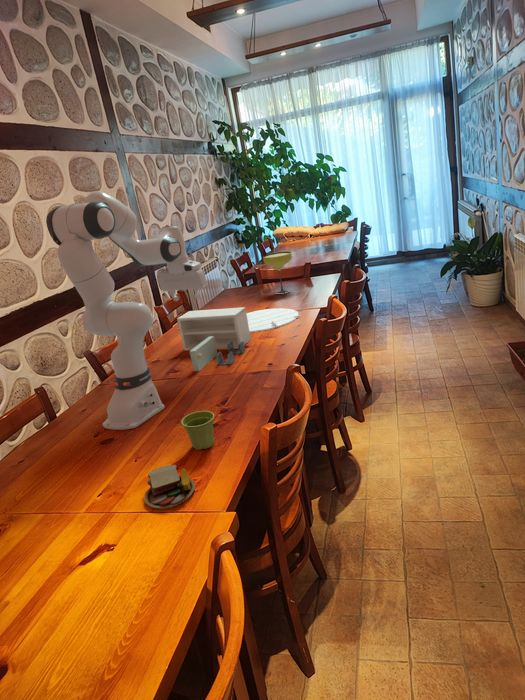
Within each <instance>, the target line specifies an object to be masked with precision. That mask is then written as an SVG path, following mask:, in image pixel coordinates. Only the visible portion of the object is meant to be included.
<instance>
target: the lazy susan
mask: <svg viewBox="0 0 525 700" xmlns="http://www.w3.org/2000/svg"><path fill="white" fill-rule="evenodd" d="M246 314H247V320H248V326H249V331H250V333H259V331H260V332H265V330H266V331H271V330H275V329H278V328H277V327H279V328H281V327H280V326H282V327H284V326H283V325H285V324H287V325H289V324H288V323H290V322H292V321H293V322H295V321H296V320H297V319H298V318H301V315H299V312H298V311H297V310H296V309H292V308H281V307H280V308H267V309H259V310H255V311H251V312H246ZM296 318H297V319H296ZM295 319H296V320H295ZM294 320H295V321H294ZM293 322H292V323H293ZM290 324H291V323H290ZM285 326H286V325H285ZM274 328H275V329H274ZM270 329H271V330H270Z"/></svg>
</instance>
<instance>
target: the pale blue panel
mask: <svg viewBox="0 0 525 700" xmlns="http://www.w3.org/2000/svg"><path fill="white" fill-rule="evenodd" d="M217 354H218V349H216V344H215V339H214V336H209V337H208V338H206V339H205V340H204V341H202V342H201V343H200V344H198V345H197V346H196V347H195V348H193V349H192V350H189V355H190V361H191V362H192V367H193V368H192V369H193V371H194V372H201V370H202V369H203V368H205V367H206V366H207V365H208V364H209V363H210V362H212V361H213V360H214V359H215V358H216V355H217ZM213 358H214V359H213ZM212 359H213V360H212ZM207 363H208V364H207ZM206 364H207V365H206ZM205 365H206V366H205ZM204 366H205V367H204Z"/></svg>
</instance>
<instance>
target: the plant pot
mask: <svg viewBox="0 0 525 700" xmlns="http://www.w3.org/2000/svg"><path fill="white" fill-rule="evenodd" d="M214 418H215V414H214V412H212V411H210V410H199V411H194V412H191V413H189V414H187V415H185V416H184V417H183V418H182V419H181V421H180V422H181V425H182V426H183V427H184V429H185V430H186V433H187V436H188V437H189V440H190V442H191V444H192V448H193V449H194V450H197V451H198V450H199V451H201V450H203V449H205V450H206V449H208V448H211V447H212V446H213V445H214V442H215V441H214V438H215V437H214Z"/></svg>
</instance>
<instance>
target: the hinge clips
mask: <svg viewBox="0 0 525 700" xmlns="http://www.w3.org/2000/svg"><path fill="white" fill-rule="evenodd" d="M227 346H228V349H227V350H228V351H227V352H228V354H227V355H226V357H227V360H225V359H224V358H223V351H219V352H217V355H216V357H215V358H216V364H217V366H227V365H226V364H231V365H232V364H234V362H235V356H234V355H242V354H243V353H245V352H246V349H245V346H244V342H241V343H240V344H239V345H238V346H239V349H234V347H233V342H230V343H229V344H228V345H227Z"/></svg>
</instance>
